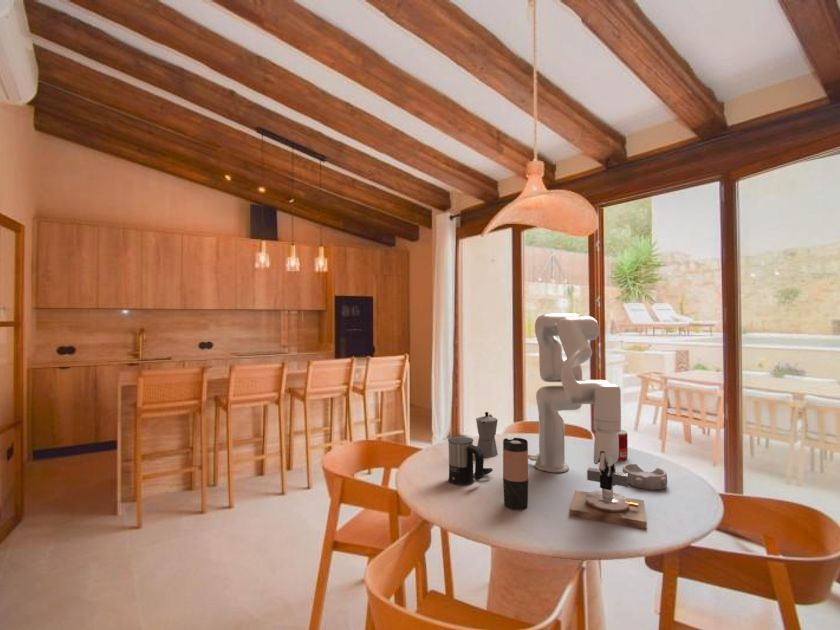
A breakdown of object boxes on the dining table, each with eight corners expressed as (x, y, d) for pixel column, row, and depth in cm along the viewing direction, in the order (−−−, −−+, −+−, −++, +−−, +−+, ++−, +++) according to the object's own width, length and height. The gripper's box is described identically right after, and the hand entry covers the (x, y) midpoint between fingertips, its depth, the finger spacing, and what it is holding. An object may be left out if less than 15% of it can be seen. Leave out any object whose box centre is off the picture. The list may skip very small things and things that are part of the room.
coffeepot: (494, 459, 183) (494, 415, 183) (472, 457, 186) (472, 414, 186) (501, 449, 197) (501, 408, 197) (481, 447, 200) (480, 407, 201)
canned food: (628, 456, 186) (628, 430, 186) (626, 461, 179) (625, 434, 179) (609, 453, 190) (609, 428, 190) (605, 458, 183) (605, 432, 184)
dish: (620, 475, 165) (620, 461, 165) (662, 479, 160) (662, 465, 160) (625, 489, 151) (625, 474, 151) (671, 494, 146) (671, 478, 147)
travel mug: (523, 512, 132) (523, 445, 132) (499, 507, 136) (499, 441, 136) (531, 503, 138) (531, 439, 139) (508, 498, 143) (508, 436, 143)
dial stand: (569, 516, 129) (569, 508, 129) (575, 496, 144) (575, 489, 144) (646, 529, 121) (646, 521, 121) (644, 506, 136) (644, 499, 136)
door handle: (582, 506, 131) (582, 474, 131) (590, 493, 141) (590, 463, 141) (636, 517, 123) (635, 483, 124) (639, 502, 134) (639, 470, 134)
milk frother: (443, 483, 156) (443, 441, 157) (459, 469, 171) (459, 431, 171) (482, 490, 150) (482, 446, 150) (495, 475, 164) (495, 435, 165)
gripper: (602, 418, 142) (603, 476, 142) (585, 428, 129) (586, 492, 129) (627, 422, 137) (628, 481, 137) (612, 432, 124) (613, 498, 124)
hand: (607, 486), depth 133 cm, fingers closed on door handle, 3 cm apart
